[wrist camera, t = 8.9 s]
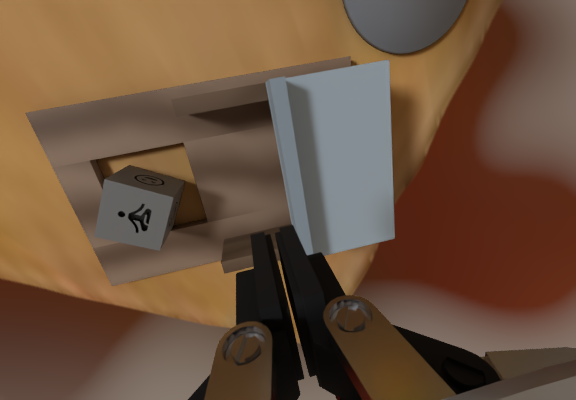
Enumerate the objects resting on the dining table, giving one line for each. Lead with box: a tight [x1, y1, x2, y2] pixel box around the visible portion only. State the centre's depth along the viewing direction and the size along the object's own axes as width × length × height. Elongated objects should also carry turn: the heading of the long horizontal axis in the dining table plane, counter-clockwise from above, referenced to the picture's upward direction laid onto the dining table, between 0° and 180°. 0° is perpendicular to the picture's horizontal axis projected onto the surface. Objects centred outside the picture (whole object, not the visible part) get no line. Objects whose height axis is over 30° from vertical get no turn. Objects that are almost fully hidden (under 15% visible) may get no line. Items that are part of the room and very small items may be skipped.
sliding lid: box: [265, 60, 395, 256], centre depth 21 cm, size 15×9×3 cm, turn 10°
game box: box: [26, 56, 351, 286], centre depth 24 cm, size 17×27×5 cm, turn 100°
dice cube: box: [94, 165, 185, 251], centre depth 24 cm, size 5×5×5 cm
